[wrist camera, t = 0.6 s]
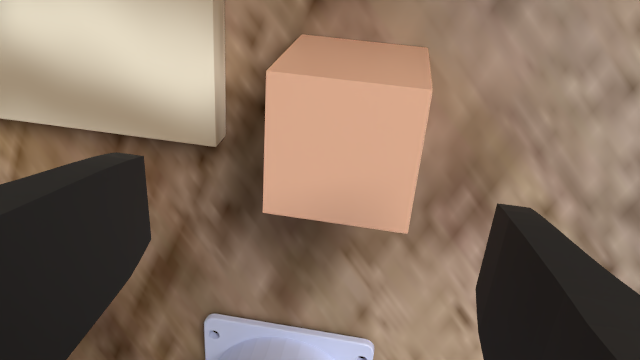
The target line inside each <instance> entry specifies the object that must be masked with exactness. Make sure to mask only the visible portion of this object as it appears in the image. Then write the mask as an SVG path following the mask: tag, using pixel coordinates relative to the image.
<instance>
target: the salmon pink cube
mask: <svg viewBox="0 0 640 360" xmlns="http://www.w3.org/2000/svg"><path fill="white" fill-rule="evenodd" d="M432 92H433V87H432V78H431V70H430V61H429V52H428V48H426V47H416V46H407V45H398V44H388V43H379V42H369V41H360V40H351V39H341V38H332V37H322V36H313V35H304V34H302V35H301V36H300V37H299V38H298V39H297V40H296V41H295V42H294V43H293V44H292V45H291V46H290V47H289V48H288V49H287V50H286V51H285V52H284V53H283V54H282V55H281V56H280V57H279V58H278V59H277V60H276V61H275V62H274V63H273V64H272V65H271V66H270V67H269V68H268V70H267V71H266V100H265V141H264V182H263V213H268V214H275V215H282V216H289V217H296V218H303V219H310V220H316V221H323V222H330V223H337V224H344V225H351V226H358V227H364V228H371V229H378V230H385V231H392V232H399V233H406V234H408V228H409V223H410V217H411V211H412V206H413V200H414V194H415V189H416V183H417V177H418V171H419V166H420V160H421V154H422V149H423V143H424V137H425V132H426V126H427V120H428V115H429V109H430V103H431V97H432Z"/></svg>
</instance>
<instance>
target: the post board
mask: <svg viewBox="0 0 640 360" xmlns="http://www.w3.org/2000/svg"><path fill="white" fill-rule="evenodd" d="M0 118H2V119H9V120H17V121H24V122H32V123H39V124H47V125H55V126H62V127H70V128H77V129H85V130H92V131H100V132H107V133H115V134H122V135H130V136H137V137H145V138H152V139H160V140H167V141H175V142H182V143H190V144H197V145H205V146H212V147H216V146H217V145H218V144H219V143H220V142H221V140H222V139H223V138H224V137H225V136H226V93H225V8H224V0H0Z"/></svg>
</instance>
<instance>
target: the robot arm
mask: <svg viewBox="0 0 640 360" xmlns="http://www.w3.org/2000/svg"><path fill="white" fill-rule="evenodd" d="M150 240H151V232H150V221H149V210H148V199H147V188H146V177H145V166H144V156H139V155H131V154H124V153H110V154H104V155H100V156H95V157H92V158H88V159H84V160H81V161H77V162H74V163H71V164H67V165H64V166H61V167H57V168H54V169H51V170H48V171H44V172H41V173H38V174H35V175H31V176H28V177H25V178H22V179H18V180H15V181H11V182H8V183H4V184H1V185H0V360H66V359H67V358H68V357H69V355H70V354H71V353H72V352H73V350H74V349H75V348H76V347H77V345H78V344H79V343H80V341H81V340H82V339H83V338H84V336H85V335H86V334H87V332H88V331H89V330H90V329H91V327H92V326H93V325H94V324H95V322H96V321H97V320H98V318H99V317H100V316H101V315H102V313H103V312H104V311H105V309H106V308H107V307H108V306H109V304H110V303H111V302H112V300H113V299H114V298H115V296H116V295H117V294H118V293H119V291H120V290H121V289H122V287H123V286H124V285H125V283H126V282H127V281H128V279H129V278H130V277H131V275H132V273H133V271H134V270H135V268H136V266H137V265H138V263H139V261H140V259H141V257H142V256H143V254H144V252H145V250H146V248H147V246H148V244H149V242H150ZM476 304H477V320H478V333H479V338H480V343H481V348H482V353H483V358H484V360H640V295H639V294H638V293H637V292H635V291H634V290H632V289H631V288H630V287H628V286H627V285H626V284H624V283H623V282H622V281H620V280H619V279H618V278H616V277H615V276H614V275H612V274H611V273H610V272H609V271H607V270H606V269H605V268H604V267H602V266H601V265H600V264H599V263H597V262H596V261H595V260H594V259H592V258H591V257H590V256H589V255H588V254H586V253H585V252H584V251H583V250H582V249H580V248H579V247H578V246H577V245H576V244H574V243H573V242H572V241H571V240H570V239H568V238H567V237H566V236H565V235H564V234H563V233H561V232H560V231H559V230H558V229H557V228H556V227H554V226H553V225H552V224H551V223H550V222H548V221H547V220H546V219H545V218H543V217H542V216H541V215H540V214H538V213H537V212H536V211H534V210H533V209H531V208H527V207H520V206H512V205H505V204H497V207H496V211H495V215H494V219H493V223H492V226H491V230H490V234H489V238H488V242H487V246H486V250H485V254H484V258H483V262H482V266H481V270H480V273H479V277H478V281H477V285H476ZM213 331H216V332H218V333H215V332H213ZM204 339H205V360H373V355H374V345H373V343H372V342H371V341H369V340H367V339H363V338H357V337H351V336H345V335H339V334H334V333H328V332H322V331H316V330H310V329H304V328H298V327H292V326H286V325H280V324H274V323H268V322H263V321H257V320H251V319H245V318H239V317H233V316H227V315H221V314H210V315H208V316H207V318H206V320H205V322H204ZM359 356H363V357H365V358H359Z"/></svg>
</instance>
